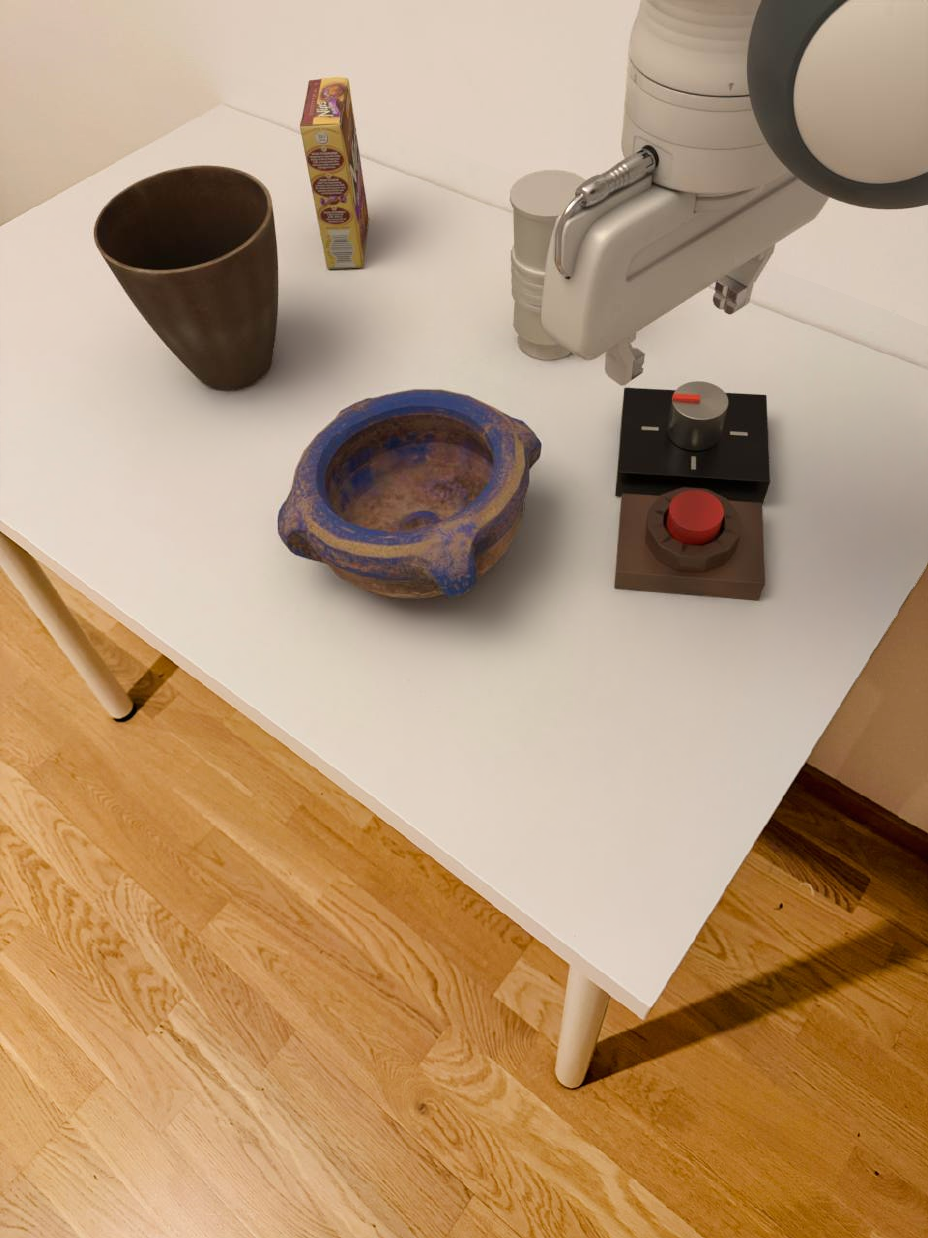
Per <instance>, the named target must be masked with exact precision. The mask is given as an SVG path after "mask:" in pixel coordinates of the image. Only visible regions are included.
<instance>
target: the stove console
mask: <svg viewBox="0 0 928 1238" xmlns="http://www.w3.org/2000/svg"><path fill="white" fill-rule="evenodd" d="M675 391H676V389H662V388H661V389H659V388H640V387H624V388H623V397H622V406H621V417H620V418H621V419H620V430H619V441H618V442H619V443H618V453H617V456H618V457H617V465H616V467H617V469H616V480H615V491H614V496H615V497H620V498H621V497H622V493H625V494H640V495H654V496H661V495H662V494H665V493H668V492H671V491H673V490H676V489H679V488H683V487H688V488H703V489H708V490H710V491H712V492H714V493H716V494H718V495H720V496H722V497H724V498H727V500H729V501H743V502H758V503H762V507H763V506H764V503H765V500H766V496H767V494H768V492H769V491H768V490H769V487H770V484H771V469H770V446H769V445H770V444H769V443H770V442H769V422H768V421H769V420H768V419H769V418H768V400H767V399H768V396H767V394H761V393H760V394H758V393H757V394H756V393H738V392H725V393H726V395H727V397H728V408H727V412H726V416H725V421H724V425H723V429H722V434H721V437H720V440H719V441H718V442H717V443H716V444H715V445H714V446H713V447H711V448H709V449H706V450H701V451H692V450H686V449H683V448H681V447H679V446H677V445H675V444H674V443H673V442H672V441H671V440H670V438H669V436H668V433H667V428H668V421H669V415H670V409H671V403H672V397H673V394H674V392H675Z"/></svg>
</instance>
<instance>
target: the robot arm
mask: <svg viewBox="0 0 928 1238" xmlns="http://www.w3.org/2000/svg"><path fill="white" fill-rule="evenodd" d="M627 49H628V51H627V64H626V76H625V77H626V78H625V88H624V89H625V91H624V104H623V116H622V130H621V139H620V140H621V141H620V142H621V143H620V144H621V152H622V156H623V157H624V159H622V160H620V161H619V162H617V163H615V165H613V166H612V167H611V168H610V169H608V170H606V171H605V172H603V173H601V174H596V175H593V176H590V177H589V178H588V179H585V180H586V181H585V182H583V183H582V184H581V185H580V186H579V187H578V188H577V189H576V191H575V198H574V199H573V200H572V201H571V202H570V203H569V205H568V206H567V207H566V209H565V210H564V211H563V212H562V214H561V215H560V216H559V217H558V218H557V220H556V223H555V227H554V230H553V233H552V237H551V241H550V245H549V250H548V256H547V262H546V269H545V276H544V284H543V293H542V306H541V324H542V327H543V329H544V331H545V332H546V333H547V334H548V335H549V336H550V337H551V338H552V339H553V340H554V341H556V342H557V343H558V344H560V345H561V346H562V347H564V348H565V349H567V350H568V351H570V352H572V354H574V355H575V356H577V357H579V358H581V359H583V360H585V361H592V360H596V359H597V358H599V357H601V356H602V355H604V354H605V359H604V360H605V361H604V370H605V371H604V372H605V374H606V376H607V377H608V378H609V379H611V381H614V382H615V383H616V384H618V385H619V386H622V387H623V386H626V385H627V384H629V383H630V382H632V381H633V380H634V379H636V378H637V377H638V376H640V375H642V374H643V372H644V368H643V365H644V364H645V357H646V353H644V352H643V351H642V350H640V349H639V348H637V347H636V348H635V347H633V345H632V343H633V342H635V341H636V338H637V333H638V332H639V331H641V330H643V329H644V328H646V327H647V326H649V325H651V324H652V323H654V322H656V321H657V320H658V319H660V318H661V317H663V316H665V315H666V314H668V313H669V312H671V311H672V310H673V309H675V308H678V306H680V305H682V304H683V303H685V302H686V301H688V300H689V299H691V298H693V297H694V296H696V295H697V294H698V293H700V292H702V291H704V290H706V289H707V288H708V287H710V286H711V285H713V284H715V285H714V291H715V292H714V294H713V296H712V302H713V305H714V306H715V307H716V308H717V309H718V310H722V311H724V313H725V314H727V315H733V314H734V313H737V311H739V310H741V309H743V308H745V307H746V306H747V305H749V303H750V302H751V297H752V292H753V289H754V285H755V283H756V282H757V280H758V278H759V277H760V275H761V274H762V272H763V270H764V269H765V267H766V265H767V264H768V262H769V260H770V258H772V255H773V254H774V251H775V247H776V244H778V243H779V242H780V241H782V240H784V239H785V238H786V237H788V236H790V235H791V234H793V233H794V232H796V231H798V230H799V229H801V228H802V227H804V226H806V225H807V224H809V223H811V222H812V221H813V220H815V219H816V218H817V217H818V215H819V214H820V213H821V211H822V210H823V209H824V207H825V205H826V204H827V202H828V201H829V199H833V200H835V201H838V202H841V203H843V204H847V205H851V206H854V207H859V208H865V209H873V210H905V209H914V208H919V207H924V206H928V0H640V1H639V7H638V11H637V14H636V17H635V19H634V22H633V25H632V28H631V30H630V35H629V42H628V48H627Z"/></svg>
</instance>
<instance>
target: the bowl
mask: <svg viewBox="0 0 928 1238" xmlns="http://www.w3.org/2000/svg"><path fill="white" fill-rule="evenodd" d="M542 445H543V444H542V442H541V440H540V439H539V437H538V436H537V435H536V433H535V432H534V431H533V430H532V429H531V427H529V426H528V424H526V423H525V422H524V420H521V419H518V418H515V417H512V416H510V415H509V414H507V413H505V412H504V411H502V410H500V409H498V408H496V407H494V406H492V405H490V404H487V403H485V402H483V401H482V400H479V399H477V398H475V397H473V396H471V395H468V394H464V393H461V392H455V391H451V390H447V389H437V388H434V389H431V388H430V389H429V388H412V389H406V390H402V391H397V392H392V393H386V394H382V395H379V396H375V397H366V398H364V399H362V400H359V401H356V402H354V403H352V404H350V405H349V406H347V407H345V408H343V409H342V410H340V411H339V412H338V413H337V415H336V416H335V418H334V419H333V420H332V421H331V422H329V423H327V425H326V426H325V427H324V428H322V429H321V430H320V431H318V433H317V434H316V435H315V436H314V438H313V439H312V440H311V442H309V444H308V445H307V446H306V447H305V449H304V450H303V452H302V454H301V456H300V458H299V460H298V463H297V464H296V467H295V469H294V474H293V479H292V483H291V489H290V490H289V493H288V495H287V497H286V499H285V501H284V502H283V503H282V505H281V507H280V508H279V510H278V514H277V534H278V536H279V537H280V540H281V542H282V543H283V544H284V545H285V547H286V548H287V549H288V551H289V552H290V553H292V554H293V555H294V556H297V557H301V558H304V559H306V560H309V561H314V562H317V563H322V564H325V565H327V566H328V567H329V568H330V569H331V570H332V571H333V572H334V573H335V574H336V575H337V576H339V577H340V578H342V579H343V580H345V581H347V582H348V583H350V584H352V585H353V586H355V587H357V588H359V589H362V590H365V591H368V592H371V593H374V594H377V595H380V596H385V597H392V598H395V599H396V598H398V599H427V598H435V597H437V596H438V597H439V596H442V595H445V596H448V597H450V598H455V597H460V596H463V595H465V594H466V593H468V592H469V591H470V590H471V589H472V588H473V587H474V586H475V585H476V583H477V582H478V579H479V578H481V577H482V576H484V575H485V574H486V573H487V572H488V571H489V570H491V569H492V567H493V566H494V565H495V564H496V563H497V562H498V561H499V560H500V559H501V558H502V557H503V555H504V554H505V553H506V552H507V551H508V549H509V547H510V546H511V544H512V543H513V540H514V538H515V537H516V534H517V532H518V530H519V527H520V524H521V520H522V518H523V516H524V515H523V514H524V511H525V500H526V497H527V493H528V490H529V486H530V470H531V469H532V467H533V466H534V465H535V463H536V462H537V461H538V460H539V459H540V458H541V453H542Z"/></svg>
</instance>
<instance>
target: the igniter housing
mask: <svg viewBox="0 0 928 1238" xmlns="http://www.w3.org/2000/svg"><path fill="white" fill-rule="evenodd" d="M689 490H700V491H705V492H708V493H710V494H712V495H713V496H715V497H716V498H717V499H718V500H719V501H720V502H721V504H722V506H723V509H724V516H723V520H722V523H721V527H720V531H719V533H718V535H717V536H716V537H715V538H714V539H713V540H712V541H710V542H708V543H706V544H702V545H689V544H685V543H682V542H680V541H678V540H677V539H675V538H674V537H673V536H672V535H671V534H670V532H669V530H668V528H667V517H668V512H669V506H670V503H671V501H672V500H673V498H674V497H675V496H677V495H678V494H680V493H682V492H685V491H689ZM620 499H621V500H620V507H619V519H618V533H617V542H616V544H617V546H616V559H615V570H614V571H615V572H614V585H613V588H614V589H617V590H627V591H628V590H629V591H639V592H640V591H642V592H651V593H652V592H653V593H665V594H677V595H691V596H700V597H714V598H726V599H727V598H728V599H739V600H748V601H749V600H751V601H760V599H761V596H762V595H763V594H762V593H763V591H764V588H765V585H766V570H765V569H766V568H765V567H766V566H765V543H764V515H763V511H764V510H763V506H762V503H758V502H743V501H729V500H727V498H724V497H722V496H720V495H718V494H716V493H714V492H712V491H710V490H708V489H703V488H688V487H683V488H679V489H676V490H673V491H671V492H668V493H665V494H662V495H661V496H654V495H640V494H625V493H622V497H620Z"/></svg>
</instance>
